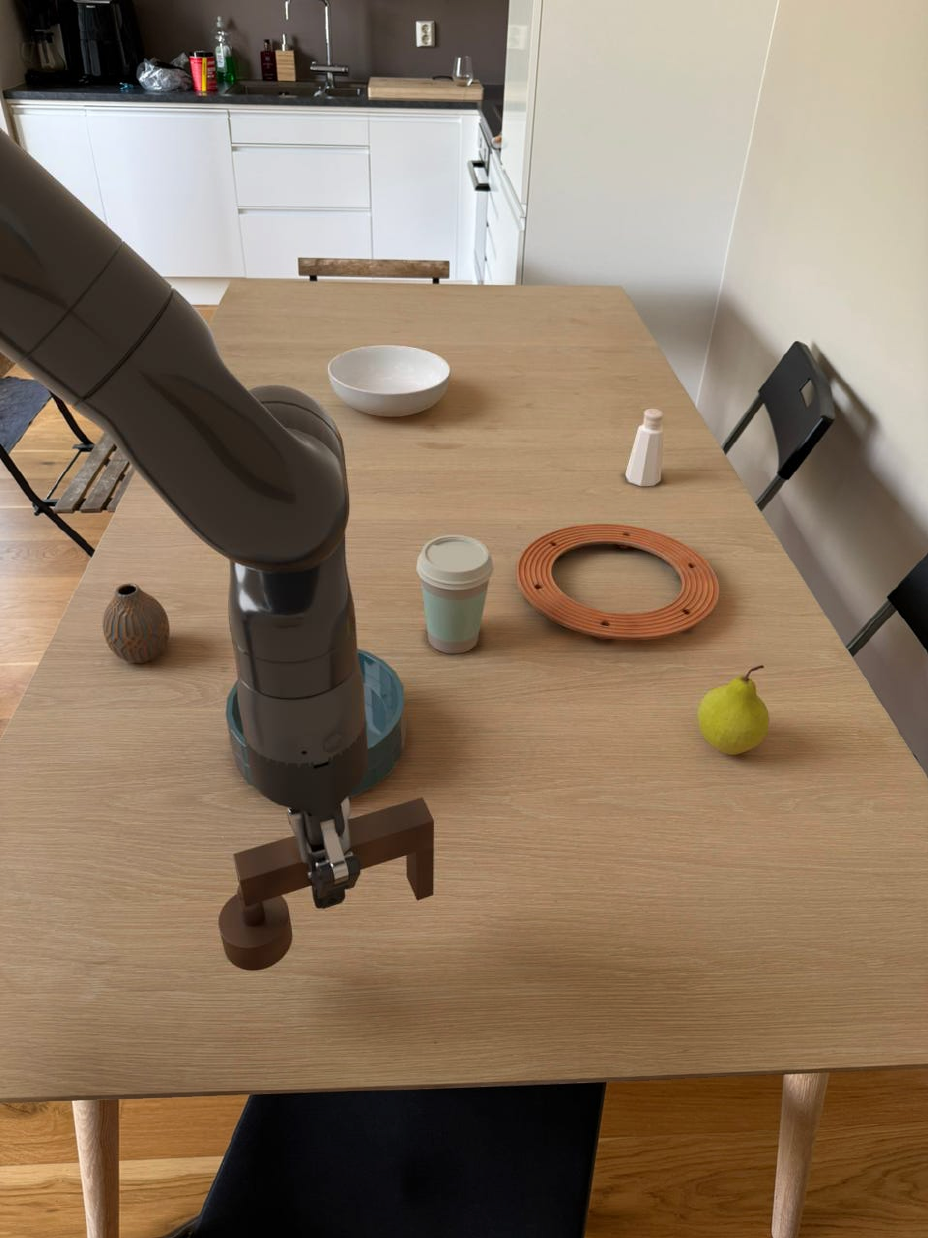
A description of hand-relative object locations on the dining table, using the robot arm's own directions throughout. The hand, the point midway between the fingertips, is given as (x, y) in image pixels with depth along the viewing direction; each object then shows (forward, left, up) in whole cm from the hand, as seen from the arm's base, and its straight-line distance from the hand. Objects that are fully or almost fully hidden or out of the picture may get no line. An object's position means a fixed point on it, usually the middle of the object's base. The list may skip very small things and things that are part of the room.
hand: (324, 885), depth 65 cm
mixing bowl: (+6, +24, -10) cm, 27 cm away
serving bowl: (+39, +99, -10) cm, 107 cm away
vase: (-9, +45, -10) cm, 47 cm away
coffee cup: (+25, +35, -10) cm, 44 cm away
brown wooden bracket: (0, 0, -4) cm, 4 cm away
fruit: (+45, +9, -10) cm, 47 cm away
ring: (+48, +37, -10) cm, 61 cm away
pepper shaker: (+67, +61, -10) cm, 91 cm away
